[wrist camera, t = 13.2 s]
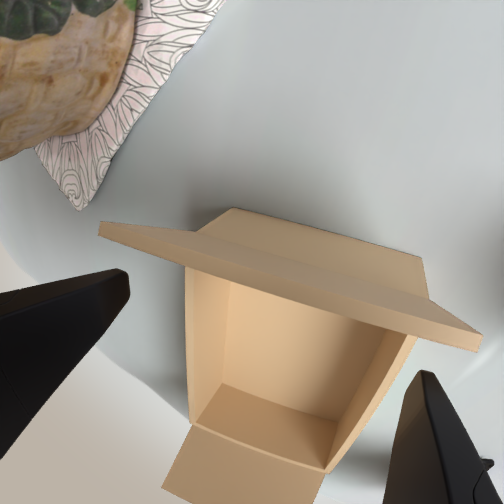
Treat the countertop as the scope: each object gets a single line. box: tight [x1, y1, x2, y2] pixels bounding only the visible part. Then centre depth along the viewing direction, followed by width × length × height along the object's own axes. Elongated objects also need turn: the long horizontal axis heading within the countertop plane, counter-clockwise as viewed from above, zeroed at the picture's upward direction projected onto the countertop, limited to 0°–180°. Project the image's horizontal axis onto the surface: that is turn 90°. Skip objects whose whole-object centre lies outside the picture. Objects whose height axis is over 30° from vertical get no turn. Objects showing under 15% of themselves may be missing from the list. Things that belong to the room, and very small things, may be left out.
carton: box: [185, 207, 429, 474], centre depth 22 cm, size 18×13×6 cm
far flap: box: [161, 424, 326, 504], centre depth 22 cm, size 7×12×1 cm
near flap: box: [98, 221, 483, 353], centre depth 12 cm, size 7×12×1 cm
